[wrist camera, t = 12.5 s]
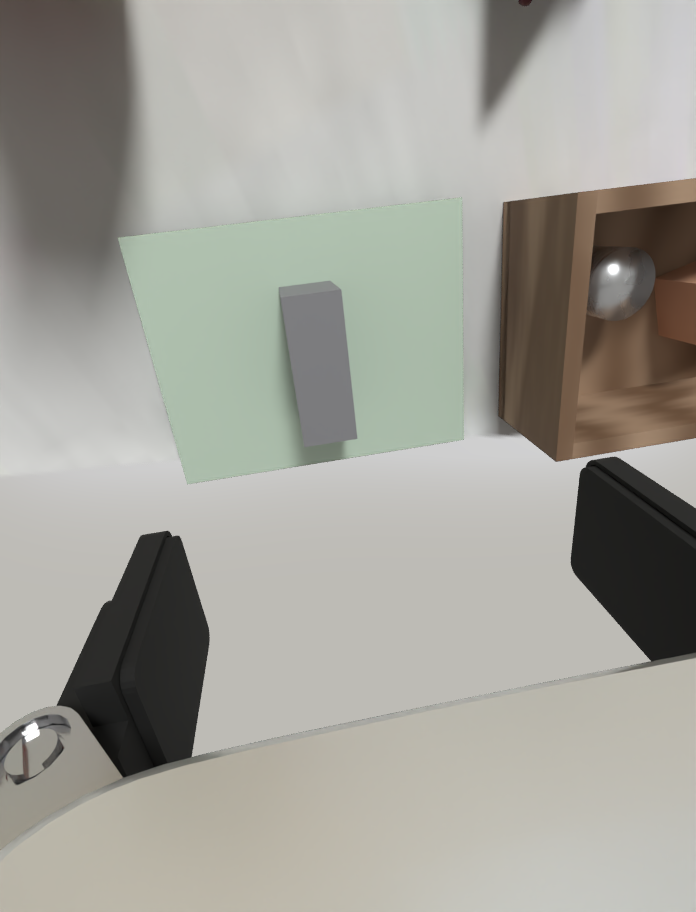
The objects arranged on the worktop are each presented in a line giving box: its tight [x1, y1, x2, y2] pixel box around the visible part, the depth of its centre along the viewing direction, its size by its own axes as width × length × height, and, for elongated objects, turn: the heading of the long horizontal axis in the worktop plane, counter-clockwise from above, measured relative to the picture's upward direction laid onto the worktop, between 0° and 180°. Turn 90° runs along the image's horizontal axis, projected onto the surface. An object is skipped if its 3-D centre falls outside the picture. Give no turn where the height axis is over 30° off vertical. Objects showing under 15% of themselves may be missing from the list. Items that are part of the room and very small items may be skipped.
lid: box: [118, 197, 464, 484], centre depth 29 cm, size 19×15×7 cm
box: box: [498, 178, 696, 462], centre depth 30 cm, size 18×14×8 cm
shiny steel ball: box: [586, 246, 655, 321], centre depth 30 cm, size 4×4×4 cm
